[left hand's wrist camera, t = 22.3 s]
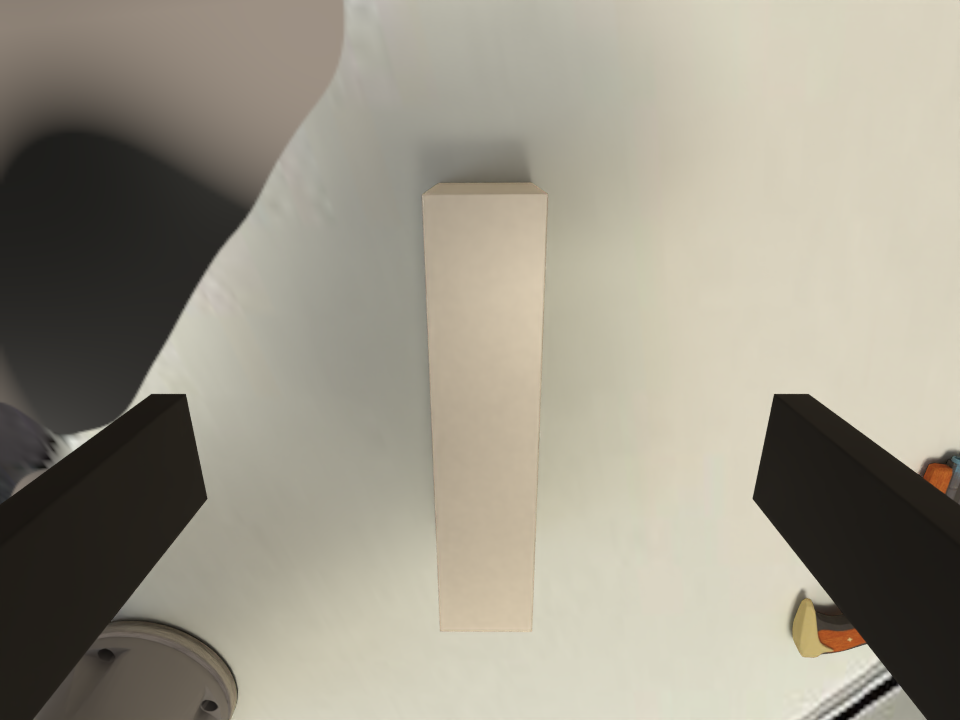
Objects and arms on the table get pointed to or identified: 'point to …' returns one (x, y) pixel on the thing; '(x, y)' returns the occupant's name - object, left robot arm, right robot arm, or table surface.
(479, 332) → the box
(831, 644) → the toy gun
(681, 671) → the table surface
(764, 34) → the table surface
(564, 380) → the table surface
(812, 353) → the table surface
